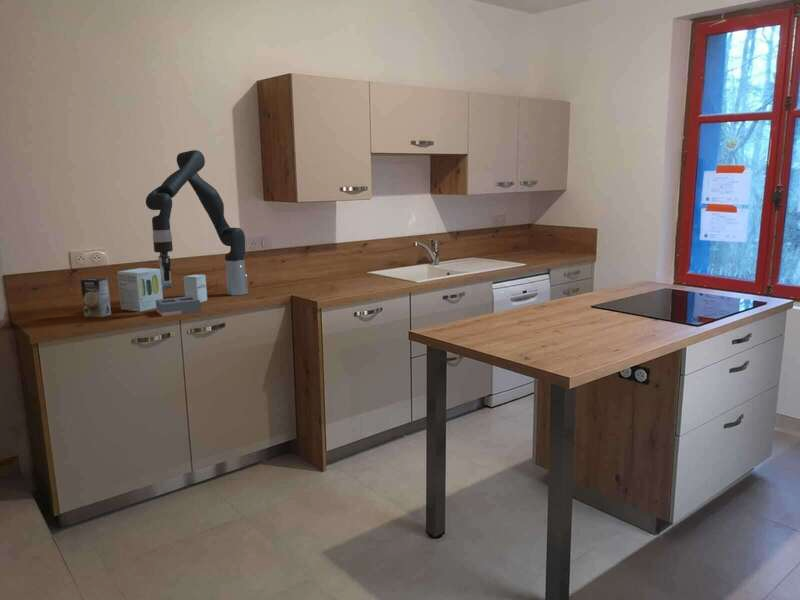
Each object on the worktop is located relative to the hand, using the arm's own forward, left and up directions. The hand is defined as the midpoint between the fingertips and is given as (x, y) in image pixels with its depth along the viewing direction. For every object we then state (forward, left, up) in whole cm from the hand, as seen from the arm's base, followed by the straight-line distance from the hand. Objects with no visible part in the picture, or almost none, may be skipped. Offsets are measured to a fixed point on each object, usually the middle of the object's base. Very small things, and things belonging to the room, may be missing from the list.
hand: (166, 280), depth 273 cm
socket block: (-4, 0, -14) cm, 15 cm away
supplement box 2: (-16, -19, -14) cm, 29 cm away
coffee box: (+27, -13, -14) cm, 33 cm away
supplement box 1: (+8, -19, -14) cm, 25 cm away
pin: (0, 0, -3) cm, 3 cm away
